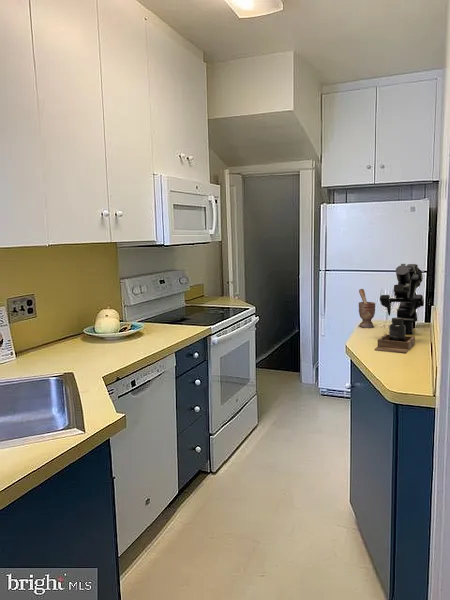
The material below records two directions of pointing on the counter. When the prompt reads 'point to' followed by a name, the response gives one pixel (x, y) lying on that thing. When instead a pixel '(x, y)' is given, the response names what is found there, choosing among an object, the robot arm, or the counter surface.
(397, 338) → the supplement bottle
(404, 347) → the walnut tray
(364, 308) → the mortar and pestle
